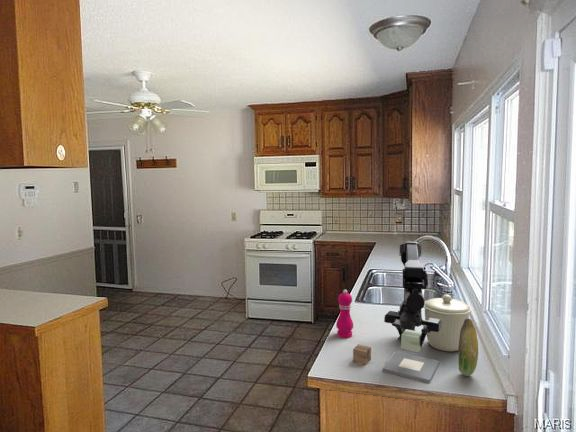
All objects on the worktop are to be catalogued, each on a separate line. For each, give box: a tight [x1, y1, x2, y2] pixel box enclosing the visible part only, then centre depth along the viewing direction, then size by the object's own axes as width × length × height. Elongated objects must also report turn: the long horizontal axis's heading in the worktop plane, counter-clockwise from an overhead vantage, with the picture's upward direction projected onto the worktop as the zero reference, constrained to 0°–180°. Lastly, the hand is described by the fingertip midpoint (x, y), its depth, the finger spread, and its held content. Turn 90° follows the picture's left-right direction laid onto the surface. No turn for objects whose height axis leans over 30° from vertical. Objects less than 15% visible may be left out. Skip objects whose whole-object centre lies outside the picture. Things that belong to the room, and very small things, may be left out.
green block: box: [400, 329, 423, 353], centre depth 144 cm, size 6×6×5 cm
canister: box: [423, 294, 473, 352], centre depth 162 cm, size 18×18×21 cm
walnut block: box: [352, 343, 372, 366], centre depth 150 cm, size 5×5×5 cm
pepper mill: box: [335, 289, 354, 339], centre depth 173 cm, size 7×7×20 cm
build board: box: [381, 351, 441, 384], centre depth 145 cm, size 16×16×1 cm
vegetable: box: [457, 317, 479, 377], centre depth 137 cm, size 6×6×20 cm
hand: (411, 344), depth 144 cm, fingers closed on green block, 6 cm apart
